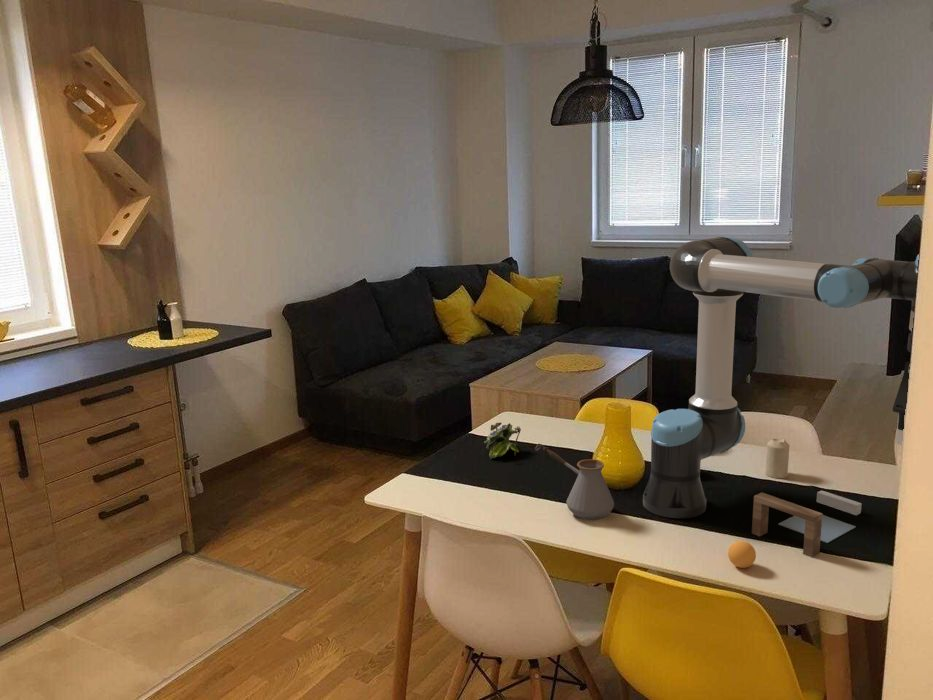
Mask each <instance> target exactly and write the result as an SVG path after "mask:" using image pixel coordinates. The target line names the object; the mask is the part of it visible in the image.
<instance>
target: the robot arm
mask: <svg viewBox="0 0 933 700" xmlns="http://www.w3.org/2000/svg"><path fill="white" fill-rule="evenodd" d="M919 254H920V253H919ZM919 254H917V256H916V259H915V260H914V261H905V260H904V261H902V260H893V259H882V258H878V257H873V258H871V257H870V258H863V257H862V258H859V259H857V260H855V261H854V263H853V264H852V265H845V264H833V263H830V264H829V263H823V262H810V261H802V260H801V261H800V260H799V261H796V260H790V259H789V260H788V259H780V258H779V259H778V258H777V259H774V258H768V257H767V258H765V257H754V254H753V252H752V250H751V249H750V247H749V246H748V245H747V244H746V242H744V241H743V240H741V239H740V238H737V237H733V236H716V237H711V238H704V239H699V240H691V241H688V242H687V241H686V243H683V244H682V245H680V246H679V247H678V248H677V249H675V250H674V253H673V254H672V257H671V258H670V262H669V270H670V275H671V277H672V279H673V281H674V282H675V283H676V285H678V287H680V288H682V289H684V290H688V291H692V294H693V295H694V297H695V298H697V300H698V315H697V317H698V319H697V321H698V322H697V345H696V346H697V347H696V370H695V373H696V375H695V393H694V395H692V396H691V397H689V399H688V408H676V409H667V410H664V411H662V412H660V413H658V414H657V415H655V417H654V418H653V420H652V426H651V427H652V428H651V430H650V431H651V432H650V436H651V444H650V445H651V447H650V451H651V452H650V453H651V454H650V455H651V457H650V475H649V478H648V480H647V483H646V485H645V490H644V492H643V494H642V505H643V508H645V510H647V511H648V512H650V513H652V514H654V515H657V516H660V517H664V518H670V519H692V518H695V517H698V516H700V515H702V514H704V513H705V512H706V509H707V498H706V494H705V491H704V488H703V485H702V481H701V477H700V476H701V460H704V459H707V458H709V457H711V456H715V455H717V454H720V453H725V452H727V451H730V450H731V449H732V448H734V447H736V446H738V444H740V442H741V441H742V440H743V438H744V434H745V431H746V420H745V416H744V415H743V414H742V411H741V410H740V408H738V401H737V400H736V399H735V398H734V397H733V396H732V389H733V388H732V386H733V366H734V365H733V364H734V351H735V350H734V349H735V348H734V347H735V329H736V328H735V327H736V308H737V301H738V300H739V299H740V298H741V297H742V296H743V295H744V293H748V294H749V293H751V294H759V295H765V296H774V297H781V298H782V297H783V298H789V299H797V300H807V301H815V302H822V303H824V304H825V305H827V306H828V307H831V308H834V309H840V308H844V309H845V308H846V309H847V308H851V307H854V306H857V305H861V304H864V303H867V302H872V301H875V300H876V301H877V300H879V299H894V300H895V299H896V300H902V301H904V300H905V301H911V308H910V309H911V310H910V315H909V316H910V317H909V325H908V329H909V331H910V332H909V333H908V339H907V347H906V349H907V351H908V352H909V353H911V340H912V328H913V318H914V307H915V294H916V284H917V273H918V260H919ZM911 354H912V353H911ZM910 362H911V361H906V362H905V364H904V370H903V375H902V378H901V381H900V385H899V387H898V390H897V394H896V397H895V399H894V404H893V406H892V412H894V413H897V423H896V434H895V444H896V445H899V446H902V441H903V429H904V415H905V409H906V403H907V392H908V379H909V367H910Z"/></svg>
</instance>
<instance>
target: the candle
mask: <svg viewBox="0 0 933 700" xmlns="http://www.w3.org/2000/svg"><path fill="white" fill-rule="evenodd" d="M766 444H767V445H766V456H765V457H766V460H765V475H766V476H767V477H770V478H772V477H773V479H785V478H787V477H788V473H789V461H790V460H789V459H790V444H789V443H788V442H787V441H786V440H785V439H784V438H780V439H778V438H772V439H771V440H769V441H768V442H767V443H766Z"/></svg>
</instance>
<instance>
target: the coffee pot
mask: <svg viewBox="0 0 933 700" xmlns="http://www.w3.org/2000/svg"><path fill="white" fill-rule="evenodd" d="M537 447H538V448H537ZM539 449H542V450H543V452H546V453H547V454H548V455H549V456H550V457H551V458H553V459H555V460H556V461H558V462H559V463H560V464H563V465H565V467H567V468H569V469H570V470H571V471H573V472H574V473H575V474H577V476H576V479H575V481H574V484H573V485H572V489H571V490H570V492H569V495H568V497H567V498H566V501H565V502H566V506H567V508H568V510H569V511H570V512H571V513H572V514H574V515H575V517H576V518H578V519H579V520H580V519H581V520H584V521H598V520H602V519H604V518H605V517H607V516H608V515H609V514H610V513H611V512H612V510H614V507H615V502H614V498H613V496H612V494H611V492H610V489H609V488H608V486H607V483H606V481H605V478H604V476H603V474H602V470H603V468H604V466H605V464H604V462H602V461H601V460H599V459H591V458H590V459H581V460H580V461H578V462H577V464H576V466H577V467H578V468H579V469H578V468H576V467H575V466H573V465H572V464H570V463H568V462H567V461H566V460H565V459H563V458H562V457H561V456H560V455H559V454H557V453H555V452H554V451H552V450H550V449H549V448H548V447H547V446H544V445H543V444H542V443H538V444H537V445H536V446H535V449H534V451H538V450H539Z"/></svg>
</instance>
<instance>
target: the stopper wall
mask: <svg viewBox="0 0 933 700" xmlns="http://www.w3.org/2000/svg"><path fill="white" fill-rule="evenodd" d="M816 503H818V504H822V505H825V506H827V507H831V508H833V509H837V510H840V511H842V512H845V513H848V514H851V515H854V516H858V515H860V514H861V512H862V503H861V502H858V501H855V500H852V499H850V498H846V497H844V496H840V495H837V494H835V493H831V492H828V491H824V490H820V491H816Z"/></svg>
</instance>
